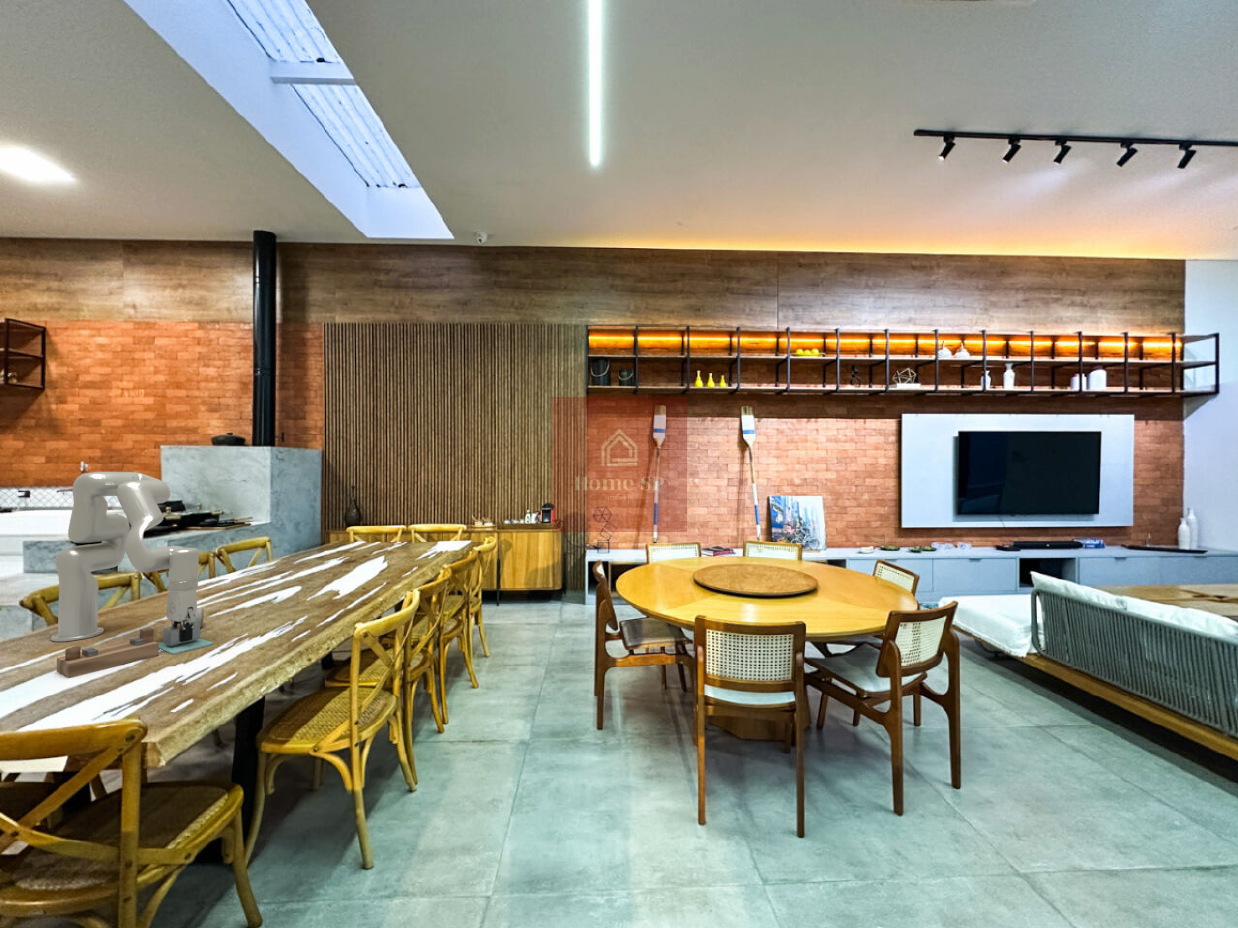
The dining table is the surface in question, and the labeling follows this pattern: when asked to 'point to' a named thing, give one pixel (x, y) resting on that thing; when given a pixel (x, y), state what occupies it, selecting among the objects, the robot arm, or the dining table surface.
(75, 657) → the plane body
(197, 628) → the lever cap
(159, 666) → the dining table surface
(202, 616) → the ceramic mug
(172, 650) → the mat
